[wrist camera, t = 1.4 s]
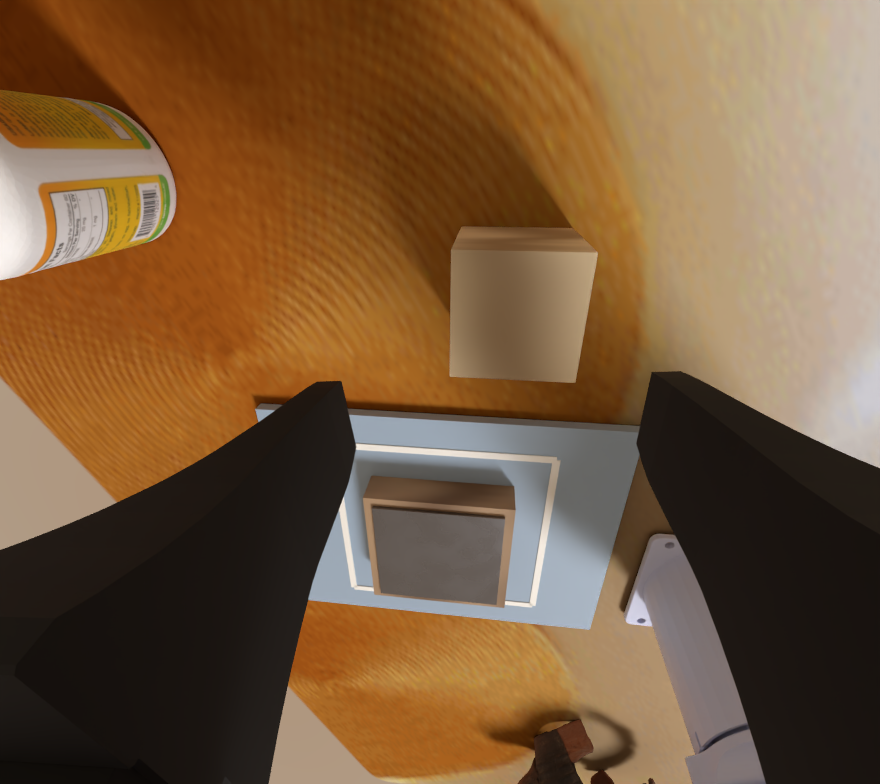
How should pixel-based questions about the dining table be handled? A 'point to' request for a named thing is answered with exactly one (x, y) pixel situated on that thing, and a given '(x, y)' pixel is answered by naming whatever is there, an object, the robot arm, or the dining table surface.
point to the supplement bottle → (75, 182)
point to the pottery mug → (562, 757)
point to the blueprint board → (477, 516)
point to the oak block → (519, 302)
